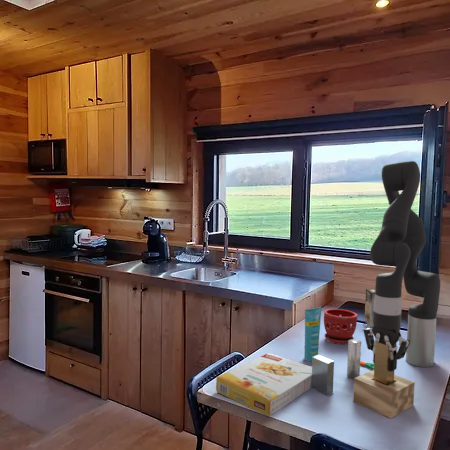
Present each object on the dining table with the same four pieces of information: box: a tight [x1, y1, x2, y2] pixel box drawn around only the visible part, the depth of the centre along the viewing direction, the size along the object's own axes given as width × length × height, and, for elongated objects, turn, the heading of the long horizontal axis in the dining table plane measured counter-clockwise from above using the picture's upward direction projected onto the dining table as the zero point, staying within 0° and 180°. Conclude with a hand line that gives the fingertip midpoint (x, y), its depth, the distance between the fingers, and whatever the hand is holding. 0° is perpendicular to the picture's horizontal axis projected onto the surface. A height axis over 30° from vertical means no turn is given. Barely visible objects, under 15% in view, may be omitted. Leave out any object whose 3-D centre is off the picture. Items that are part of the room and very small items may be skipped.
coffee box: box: [364, 288, 375, 328], centre depth 197 cm, size 9×6×16 cm
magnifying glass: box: [360, 360, 374, 371], centre depth 150 cm, size 15×6×2 cm, turn 53°
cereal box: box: [215, 352, 312, 417], centre depth 134 cm, size 20×6×28 cm
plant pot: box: [323, 308, 358, 345], centre depth 176 cm, size 13×13×12 cm
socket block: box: [352, 370, 416, 419], centre depth 125 cm, size 12×12×7 cm
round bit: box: [346, 339, 362, 380], centre depth 142 cm, size 4×4×12 cm
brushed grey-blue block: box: [310, 354, 335, 396], centre depth 132 cm, size 3×6×10 cm, turn 38°
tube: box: [304, 306, 322, 362], centre depth 156 cm, size 7×5×19 cm, turn 123°
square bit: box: [373, 341, 395, 386], centre depth 124 cm, size 4×4×12 cm
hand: (384, 368), depth 124 cm, fingers closed on square bit, 4 cm apart
